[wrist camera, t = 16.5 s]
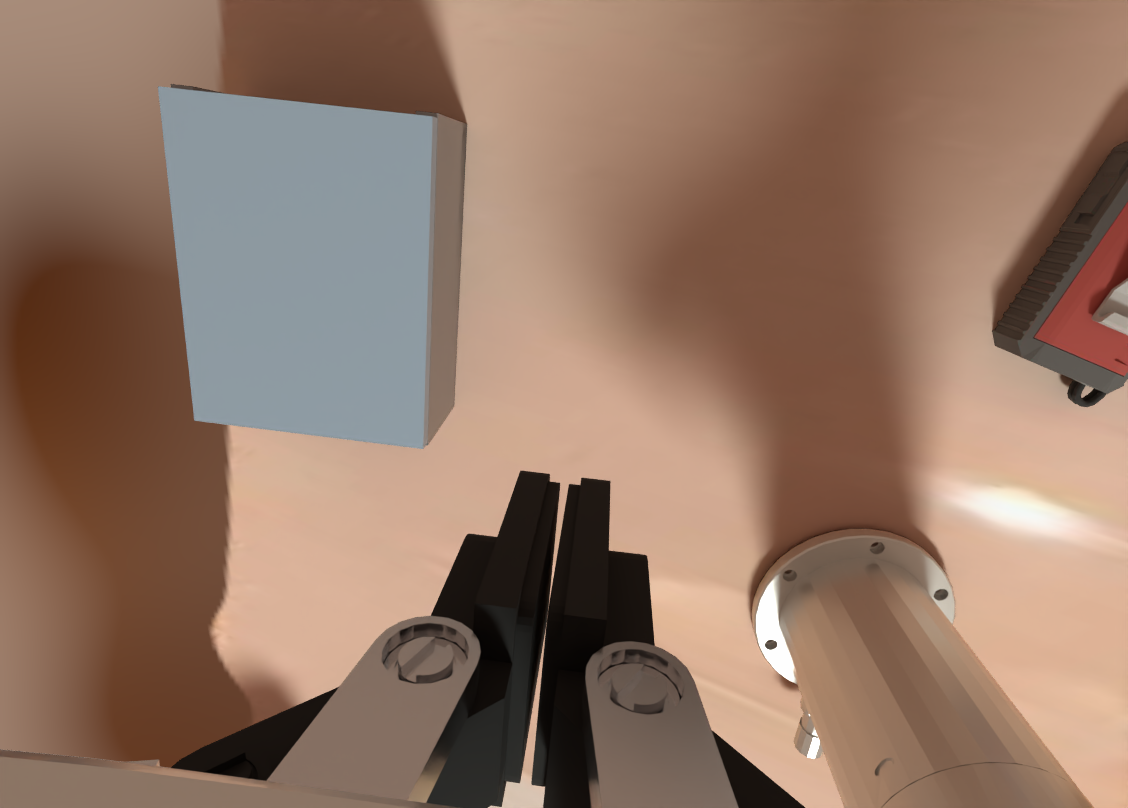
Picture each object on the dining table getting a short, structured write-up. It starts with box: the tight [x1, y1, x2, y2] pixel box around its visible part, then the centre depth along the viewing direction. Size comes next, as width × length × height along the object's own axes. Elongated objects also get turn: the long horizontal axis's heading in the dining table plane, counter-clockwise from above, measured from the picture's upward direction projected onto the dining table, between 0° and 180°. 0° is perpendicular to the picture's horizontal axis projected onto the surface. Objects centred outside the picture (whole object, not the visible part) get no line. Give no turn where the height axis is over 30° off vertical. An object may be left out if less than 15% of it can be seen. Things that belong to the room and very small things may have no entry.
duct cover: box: [158, 87, 437, 449], centre depth 30 cm, size 16×12×1 cm
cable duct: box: [171, 84, 467, 445], centre depth 33 cm, size 16×12×6 cm
